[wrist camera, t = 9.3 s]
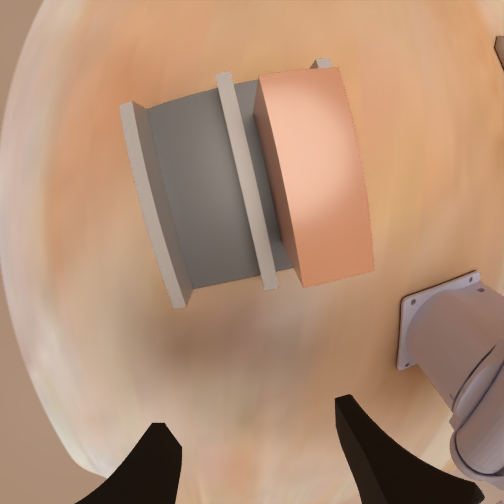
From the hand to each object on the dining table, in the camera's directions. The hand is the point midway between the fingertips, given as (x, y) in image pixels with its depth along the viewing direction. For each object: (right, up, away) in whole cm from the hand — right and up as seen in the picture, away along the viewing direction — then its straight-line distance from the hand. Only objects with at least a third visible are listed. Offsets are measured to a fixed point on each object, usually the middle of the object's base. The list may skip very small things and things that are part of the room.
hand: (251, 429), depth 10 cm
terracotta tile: (+2, +12, +6) cm, 14 cm away
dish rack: (0, +12, +7) cm, 14 cm away
